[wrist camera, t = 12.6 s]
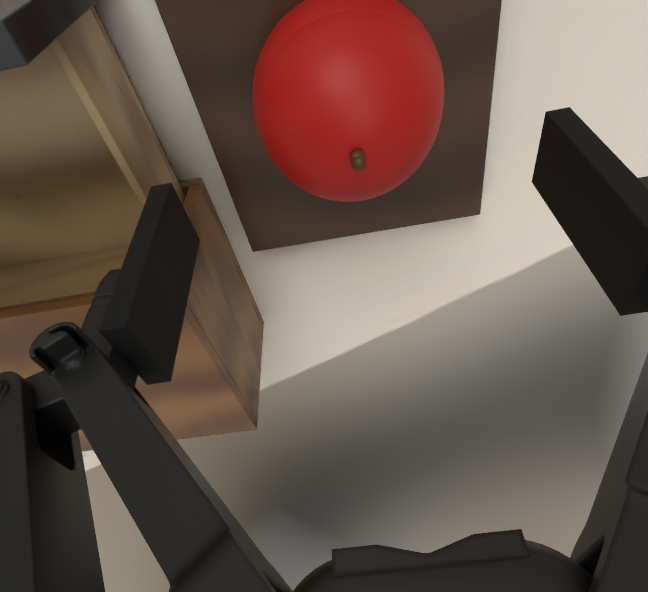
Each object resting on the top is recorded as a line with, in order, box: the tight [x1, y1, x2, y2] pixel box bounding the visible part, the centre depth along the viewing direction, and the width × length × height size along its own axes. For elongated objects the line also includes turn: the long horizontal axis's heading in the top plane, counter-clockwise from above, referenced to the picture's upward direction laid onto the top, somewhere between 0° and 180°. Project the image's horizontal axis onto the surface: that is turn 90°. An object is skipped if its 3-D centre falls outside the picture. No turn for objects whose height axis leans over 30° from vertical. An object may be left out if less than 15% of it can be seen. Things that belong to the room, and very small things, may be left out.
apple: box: [252, 0, 445, 202], centre depth 21 cm, size 9×9×10 cm
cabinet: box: [0, 178, 264, 451], centre depth 34 cm, size 16×25×11 cm, turn 100°
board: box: [155, 0, 502, 252], centre depth 25 cm, size 24×17×2 cm
